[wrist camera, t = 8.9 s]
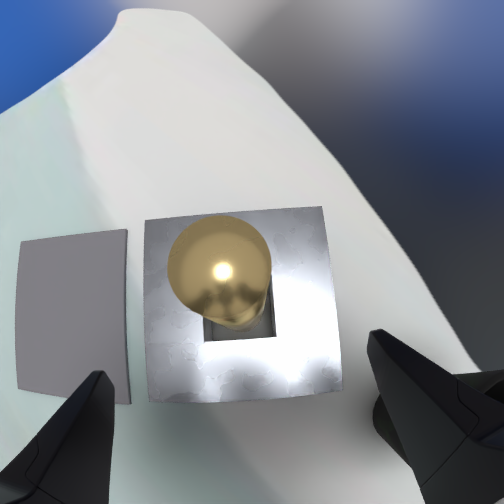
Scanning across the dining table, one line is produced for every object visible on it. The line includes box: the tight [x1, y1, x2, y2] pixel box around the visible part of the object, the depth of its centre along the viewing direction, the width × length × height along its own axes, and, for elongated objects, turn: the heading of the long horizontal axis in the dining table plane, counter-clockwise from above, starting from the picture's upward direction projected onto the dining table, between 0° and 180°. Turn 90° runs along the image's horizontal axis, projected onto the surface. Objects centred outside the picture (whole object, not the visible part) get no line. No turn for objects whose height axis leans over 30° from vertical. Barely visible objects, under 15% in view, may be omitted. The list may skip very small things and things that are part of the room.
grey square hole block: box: [144, 206, 343, 403], centre depth 21 cm, size 12×12×4 cm
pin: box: [167, 215, 272, 332], centre depth 16 cm, size 3×3×14 cm
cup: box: [373, 370, 504, 468], centre depth 15 cm, size 8×8×12 cm
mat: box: [15, 229, 131, 404], centre depth 23 cm, size 14×12×1 cm
